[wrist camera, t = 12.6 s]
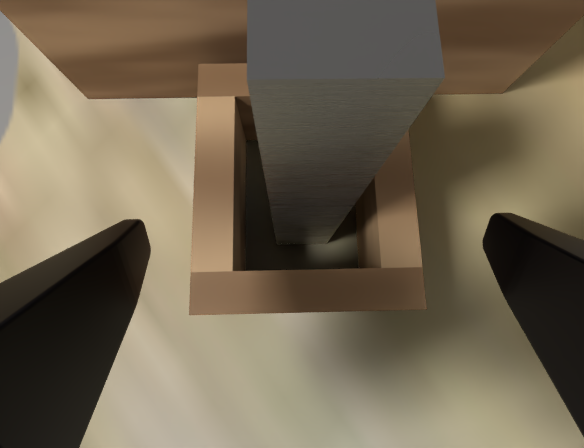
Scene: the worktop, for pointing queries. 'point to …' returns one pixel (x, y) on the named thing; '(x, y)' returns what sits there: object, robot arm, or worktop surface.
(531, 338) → the robot arm
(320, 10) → the grey bar
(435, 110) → the worktop surface
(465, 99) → the worktop surface
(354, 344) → the worktop surface
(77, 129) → the worktop surface
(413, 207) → the wooden socket
